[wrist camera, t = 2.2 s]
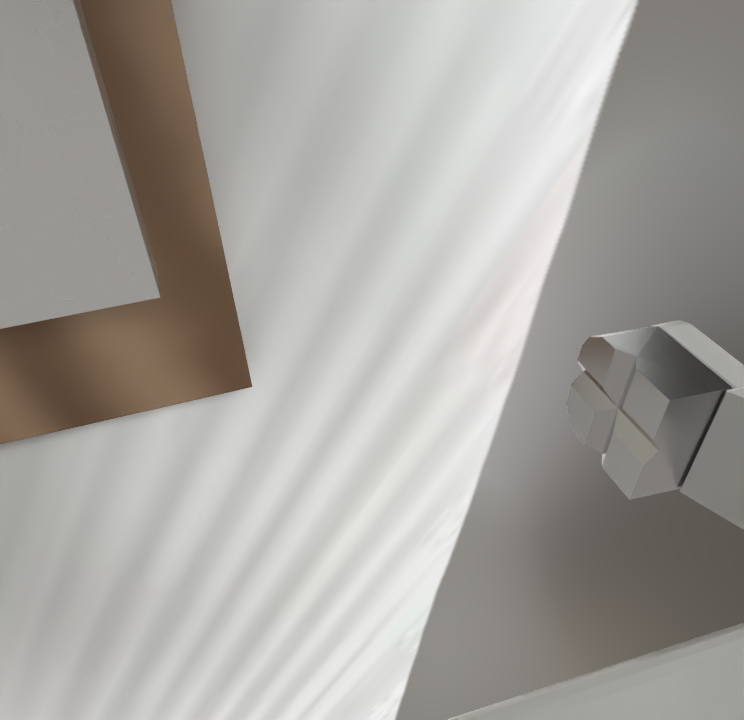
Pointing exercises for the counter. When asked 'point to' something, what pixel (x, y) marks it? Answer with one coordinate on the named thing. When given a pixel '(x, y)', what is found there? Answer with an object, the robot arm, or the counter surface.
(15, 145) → the aluminium plate
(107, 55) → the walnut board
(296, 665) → the counter surface
